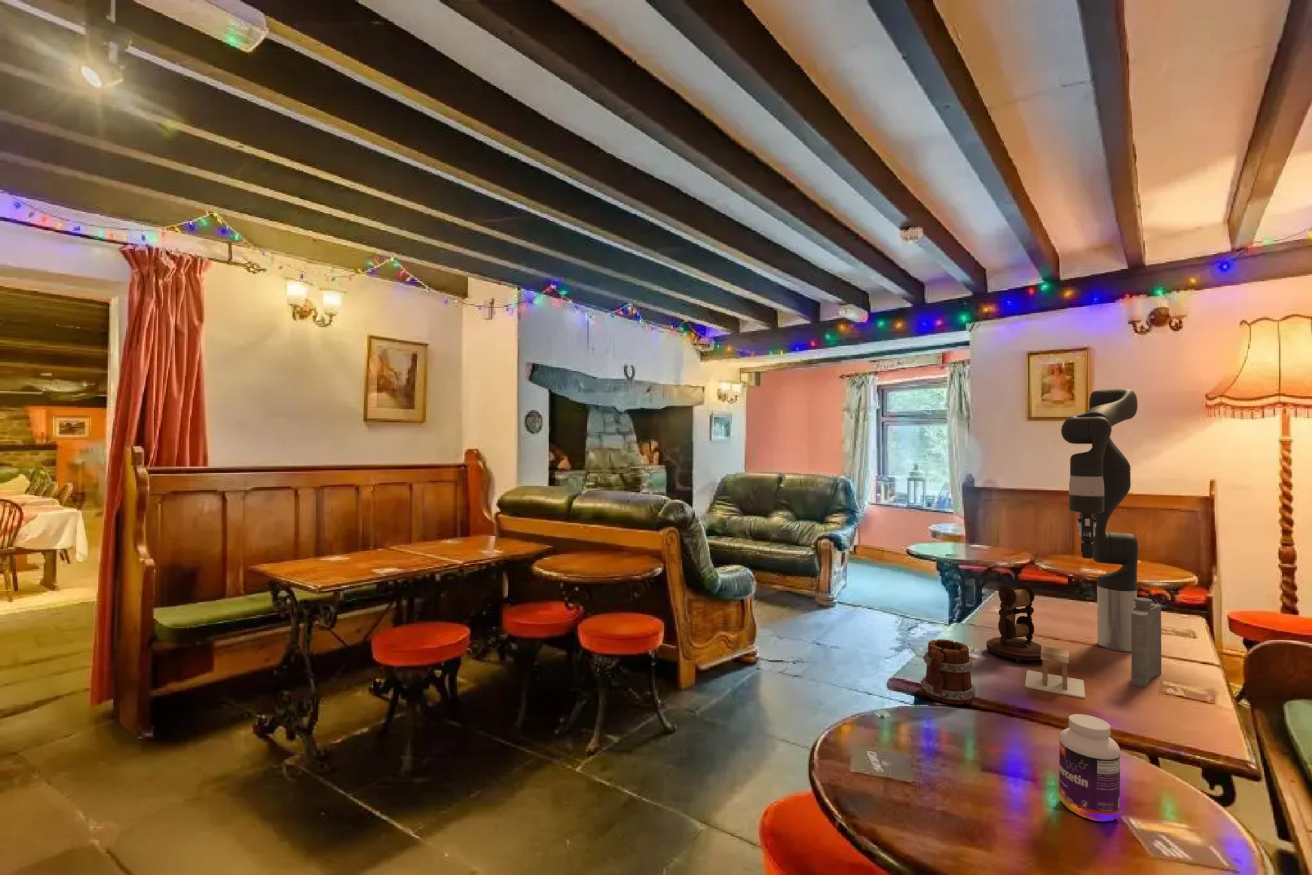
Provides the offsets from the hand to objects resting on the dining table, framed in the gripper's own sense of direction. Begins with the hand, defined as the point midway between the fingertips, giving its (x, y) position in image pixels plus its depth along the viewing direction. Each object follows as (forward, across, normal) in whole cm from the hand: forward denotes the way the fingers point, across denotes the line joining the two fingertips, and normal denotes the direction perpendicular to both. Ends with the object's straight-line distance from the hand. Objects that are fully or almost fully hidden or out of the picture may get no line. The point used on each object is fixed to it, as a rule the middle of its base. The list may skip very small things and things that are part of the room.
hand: (1086, 555), depth 158 cm
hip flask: (+30, +3, -12) cm, 33 cm away
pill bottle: (+30, -73, +2) cm, 79 cm away
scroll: (+30, +3, +16) cm, 34 cm away
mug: (+30, -38, +28) cm, 56 cm away
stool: (+30, -16, +7) cm, 34 cm away
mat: (+30, -15, +7) cm, 34 cm away
